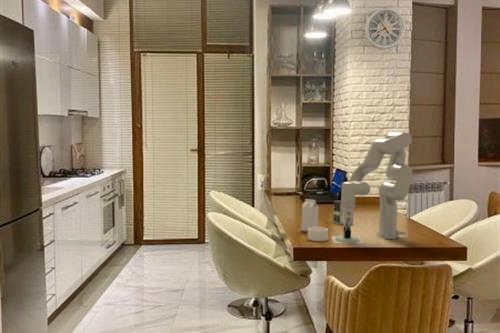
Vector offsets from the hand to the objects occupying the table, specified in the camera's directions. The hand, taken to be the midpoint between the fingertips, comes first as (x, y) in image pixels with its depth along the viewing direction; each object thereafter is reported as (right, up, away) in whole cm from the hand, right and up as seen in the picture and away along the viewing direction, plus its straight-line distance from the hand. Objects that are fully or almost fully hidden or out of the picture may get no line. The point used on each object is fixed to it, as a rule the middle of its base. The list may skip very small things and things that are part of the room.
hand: (347, 235), depth 270 cm
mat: (0, -3, 0) cm, 3 cm away
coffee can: (+7, +1, +54) cm, 54 cm away
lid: (0, -2, 0) cm, 2 cm away
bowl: (-16, -2, +2) cm, 16 cm away
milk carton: (-17, -1, +25) cm, 31 cm away
